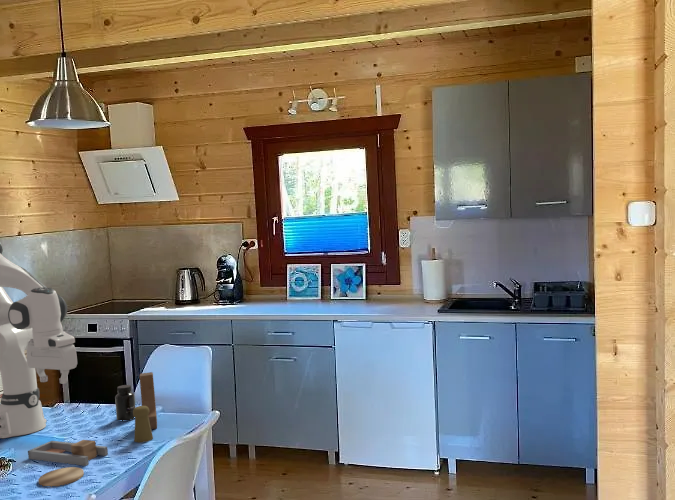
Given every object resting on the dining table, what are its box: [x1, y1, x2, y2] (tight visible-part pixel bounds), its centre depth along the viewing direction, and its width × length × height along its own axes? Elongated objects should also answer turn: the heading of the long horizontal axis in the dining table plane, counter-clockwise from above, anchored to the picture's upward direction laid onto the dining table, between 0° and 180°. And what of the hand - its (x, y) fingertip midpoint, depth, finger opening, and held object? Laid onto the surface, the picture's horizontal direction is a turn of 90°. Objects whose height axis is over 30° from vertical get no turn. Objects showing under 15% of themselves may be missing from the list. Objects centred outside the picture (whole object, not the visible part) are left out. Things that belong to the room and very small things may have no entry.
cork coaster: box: [38, 466, 85, 488], centre depth 195 cm, size 12×12×1 cm
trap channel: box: [27, 440, 109, 467], centre depth 212 cm, size 24×9×2 cm, turn 66°
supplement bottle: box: [114, 384, 136, 422], centre depth 248 cm, size 7×7×12 cm
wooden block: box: [138, 371, 158, 430], centre depth 237 cm, size 9×4×18 cm, turn 15°
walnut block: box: [70, 439, 98, 461], centre depth 209 cm, size 5×5×5 cm
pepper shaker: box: [133, 405, 154, 444], centre depth 224 cm, size 6×6×11 cm
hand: (53, 382), depth 214 cm, fingers open, 8 cm apart
